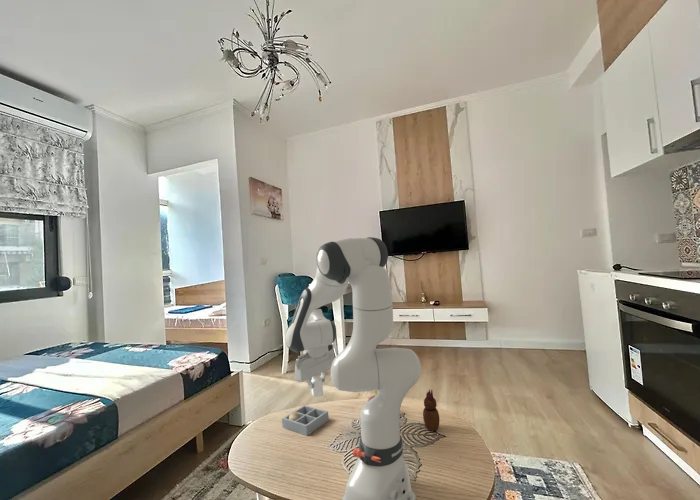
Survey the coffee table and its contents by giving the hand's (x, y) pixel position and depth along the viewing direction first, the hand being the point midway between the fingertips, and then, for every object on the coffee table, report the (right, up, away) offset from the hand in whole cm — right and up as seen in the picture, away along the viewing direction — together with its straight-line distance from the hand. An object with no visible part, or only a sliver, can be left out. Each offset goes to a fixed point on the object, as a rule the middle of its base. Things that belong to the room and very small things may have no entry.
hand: (316, 385), depth 125 cm
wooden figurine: (+44, -14, -5) cm, 47 cm away
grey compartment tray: (-5, -18, +5) cm, 19 cm away
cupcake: (+25, -16, +10) cm, 31 cm away
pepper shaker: (0, -4, 0) cm, 4 cm away
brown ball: (-9, -18, +4) cm, 20 cm away
